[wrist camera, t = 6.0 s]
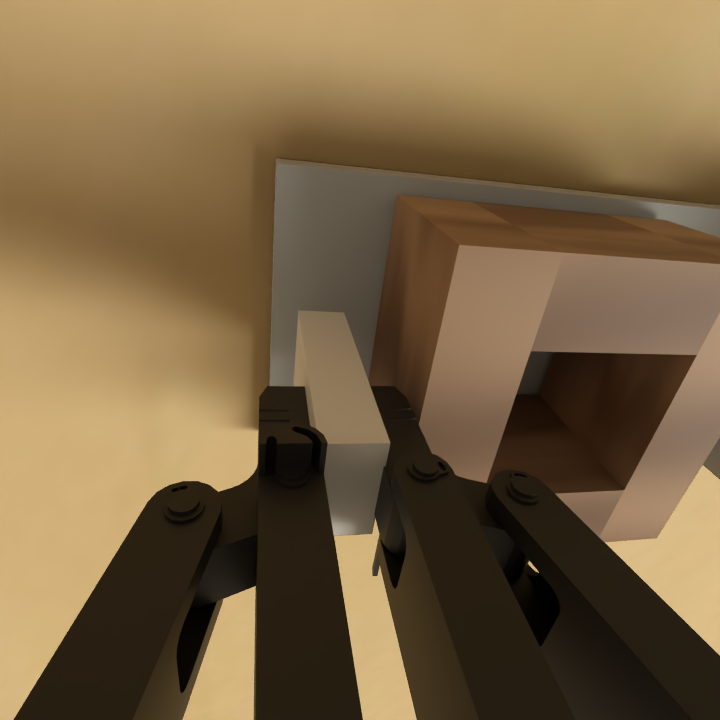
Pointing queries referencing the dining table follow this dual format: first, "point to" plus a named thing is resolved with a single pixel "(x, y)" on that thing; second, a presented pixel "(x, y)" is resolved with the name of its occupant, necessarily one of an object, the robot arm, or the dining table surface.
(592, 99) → the dining table surface
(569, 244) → the walnut block
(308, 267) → the grey l-shaped bracket
